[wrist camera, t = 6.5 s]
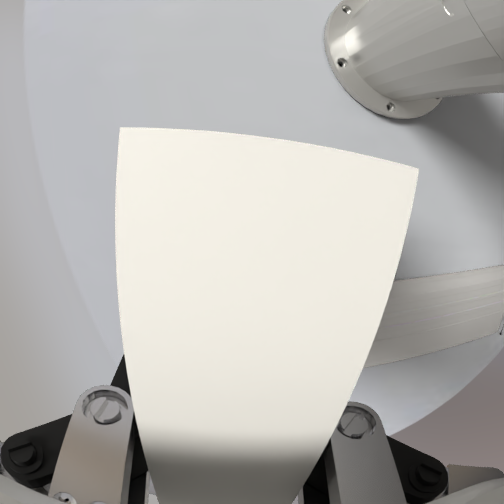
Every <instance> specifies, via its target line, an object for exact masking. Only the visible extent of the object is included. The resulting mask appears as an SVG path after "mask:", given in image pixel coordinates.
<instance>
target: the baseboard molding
mask: <svg viewBox="0 0 504 504" xmlns="http://www.w3.org/2000/svg"><path fill="white" fill-rule="evenodd" d="M503 315H504V265H498V266H492V267H486V268H480V269H474V270H467V271H460V272H454V273H447V274H440V275H433V276H425V277H418V278H410V279H402V280H394V281H393V284H392V287H391V291H390V294H389V297H388V300H387V303H386V306H385V309H384V312H383V315H382V318H381V321H380V324H379V327H378V330H377V332H376V335H375V338H374V341H373V343H372V346H371V349H370V351H369V354H368V356H367V359H366V361H365V364H364V366H363V368H367V367H372V366H377V365H382V364H387V363H391V362H396V361H400V360H405V359H409V358H413V357H417V356H421V355H425V354H429V353H433V352H436V351H440V350H443V349H447V348H450V347H454V346H457V345H460V344H464V343H467V342H470V341H473V340H476V339H479V338H482V337H485V336H488V335H491V334H494V333H496V332H498V329H499V327H500V324H501V321H502V318H503ZM503 327H504V326H503ZM502 329H503V328H502ZM501 332H502V331H501ZM501 334H502V333H500V335H501Z"/></svg>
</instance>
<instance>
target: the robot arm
mask: <svg viewBox="0 0 504 504" xmlns="http://www.w3.org/2000/svg"><path fill="white" fill-rule="evenodd" d="M344 11H345V12H344ZM324 44H325V52H326V55H327V58H328V61H329V64H330V66H331V68H332V70H333V72H334V74H335V76H336V78H337V79H338V80H339V82H340V83H341V85H342V86H343V87H344V89H345V90H346V91H347V92H348V93H349V94H350V95H351V96H352V97H353V98H354V99H355V100H357V101H358V102H359V103H361V104H362V105H363V106H364V107H366V108H368V109H370V110H372V111H373V112H375V113H377V114H380V115H383V116H386V117H389V118H396V119H411V118H416V117H421V116H423V115H425V114H427V113H429V112H431V111H432V110H433V109H434V108H436V107H437V106H438V104H439V103H440V102H441V100H442V99H443V97H448V96H459V95H470V94H485V93H504V0H343V1H342V2H340V3H339V4H338V6H337V7H336V8H335V9H334V10H333V12H332V13H331V15H330V16H329V18H328V20H327V23H326V26H325V33H324ZM338 62H339V63H341V65H342V66H341V67H340V66H339V65H338ZM387 106H388V110H387ZM149 481H150V473H149V470H148V466H147V462H146V459H145V455H144V451H143V447H142V443H141V439H140V435H139V431H138V427H137V422H136V417H135V413H134V408H133V403H132V398H131V392H130V387H129V381H128V375H127V369H126V362H125V355H123V357H122V360H121V362H120V364H119V366H118V369H117V371H116V373H115V376H114V378H113V380H112V383H111V385H110V386H109V385H100V386H95V387H92V388H90V389H88V390H86V391H85V392H84V393H83V394H81V395H80V397H79V399H78V400H77V402H76V405H75V408H74V411H73V414H71V415H68V416H66V417H63V418H60V419H58V420H55V421H52V422H49V423H47V424H44V425H41V426H38V427H35V428H32V429H29V430H26V431H24V432H20V433H17V434H15V435H13V436H11V437H9V438H8V439H7V440H6V441H5V442H1V441H0V504H148V495H149ZM298 504H504V474H503V472H502V471H500V470H499V469H497V468H491V467H474V466H461V465H451V464H449V465H448V466H447V467H445V466H444V465H443V464H442V463H441V462H440V461H439V460H437V459H435V458H433V457H431V456H429V455H427V454H424V453H422V452H420V451H418V450H416V449H414V448H411V447H409V446H407V445H405V444H403V443H401V442H399V441H397V440H395V439H393V438H391V437H389V436H387V435H386V434H385V431H384V428H383V425H382V422H381V419H380V418H379V416H378V414H377V413H376V412H375V411H374V410H373V409H372V408H370V407H368V406H367V405H364V404H361V403H358V402H348V403H347V405H346V407H345V409H344V411H343V413H342V416H341V418H340V420H339V422H338V424H337V426H336V428H335V430H334V432H333V434H332V436H331V437H330V439H329V441H328V443H327V445H326V447H325V449H324V451H323V452H322V454H321V456H320V458H319V460H318V461H317V463H316V465H315V467H314V468H313V470H312V472H311V474H310V475H309V477H308V479H307V480H306V482H305V484H304V485H303V487H302V488H301V490H300V492H299V493H298Z"/></svg>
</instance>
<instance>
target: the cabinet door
mask: <svg viewBox="0 0 504 504" xmlns="http://www.w3.org/2000/svg"><path fill="white" fill-rule="evenodd" d="M418 172H419V169H418V168H414V167H410V166H407V165H403V164H399V163H396V162H392V161H388V160H384V159H380V158H375V157H371V156H367V155H362V154H358V153H353V152H349V151H344V150H339V149H334V148H329V147H324V146H318V145H313V144H307V143H301V142H295V141H288V140H282V139H275V138H268V137H260V136H252V135H244V134H234V133H224V132H213V131H201V130H186V129H166V128H120V135H119V146H118V159H117V176H116V205H115V241H116V271H117V288H118V301H119V313H120V323H121V332H122V340H123V348H124V355H125V362H126V369H127V375H128V381H129V387H130V392H131V398H132V403H133V408H134V413H135V417H136V422H137V427H138V431H139V435H140V439H141V443H142V447H143V451H144V455H145V459H146V462H147V466H148V470H149V473H150V481H149V494H153V495H156V496H157V499H158V501H159V504H292V502H293V501H294V499H295V498H296V496H297V495H298V493H299V492H300V490H301V488H302V487H303V485H304V484H305V482H306V480H307V479H308V477H309V475H310V474H311V472H312V470H313V468H314V467H315V465H316V463H317V461H318V460H319V458H320V456H321V454H322V452H323V451H324V449H325V447H326V445H327V443H328V441H329V439H330V437H331V436H332V434H333V432H334V430H335V428H336V426H337V424H338V422H339V420H340V418H341V416H342V413H343V411H344V409H345V407H346V405H347V403H348V401H349V399H350V396H351V394H352V392H353V390H354V387H355V385H356V383H357V380H358V378H359V376H360V373H361V371H362V369H363V366H364V364H365V361H366V359H367V356H368V354H369V351H370V349H371V346H372V343H373V341H374V338H375V335H376V332H377V330H378V327H379V324H380V321H381V318H382V315H383V312H384V309H385V306H386V303H387V300H388V297H389V294H390V291H391V287H392V284H393V281H394V277H395V274H396V271H397V267H398V263H399V260H400V256H401V252H402V248H403V244H404V240H405V236H406V232H407V228H408V223H409V219H410V214H411V210H412V205H413V200H414V195H415V190H416V184H417V178H418Z"/></svg>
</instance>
